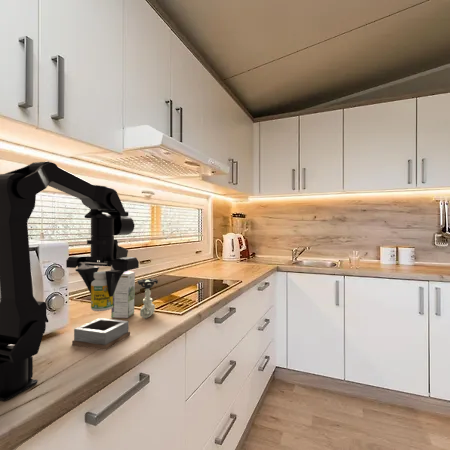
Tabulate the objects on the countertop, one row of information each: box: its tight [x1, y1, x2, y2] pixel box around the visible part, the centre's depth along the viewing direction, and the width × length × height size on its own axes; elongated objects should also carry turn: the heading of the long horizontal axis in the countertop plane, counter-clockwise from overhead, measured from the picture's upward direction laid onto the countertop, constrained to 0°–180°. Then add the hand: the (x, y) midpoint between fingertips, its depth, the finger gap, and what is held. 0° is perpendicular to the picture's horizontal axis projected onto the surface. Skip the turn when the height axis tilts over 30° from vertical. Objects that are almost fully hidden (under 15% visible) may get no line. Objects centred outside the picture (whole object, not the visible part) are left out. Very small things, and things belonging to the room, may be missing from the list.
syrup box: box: [110, 270, 136, 319], centre depth 101 cm, size 6×6×14 cm
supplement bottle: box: [90, 270, 113, 312], centre depth 80 cm, size 5×5×10 cm
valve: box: [137, 278, 159, 319], centre depth 101 cm, size 7×7×12 cm
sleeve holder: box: [71, 317, 131, 351], centre depth 80 cm, size 10×10×4 cm
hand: (102, 295), depth 80 cm, fingers closed on supplement bottle, 5 cm apart
